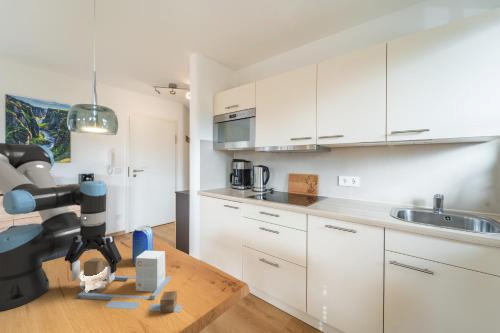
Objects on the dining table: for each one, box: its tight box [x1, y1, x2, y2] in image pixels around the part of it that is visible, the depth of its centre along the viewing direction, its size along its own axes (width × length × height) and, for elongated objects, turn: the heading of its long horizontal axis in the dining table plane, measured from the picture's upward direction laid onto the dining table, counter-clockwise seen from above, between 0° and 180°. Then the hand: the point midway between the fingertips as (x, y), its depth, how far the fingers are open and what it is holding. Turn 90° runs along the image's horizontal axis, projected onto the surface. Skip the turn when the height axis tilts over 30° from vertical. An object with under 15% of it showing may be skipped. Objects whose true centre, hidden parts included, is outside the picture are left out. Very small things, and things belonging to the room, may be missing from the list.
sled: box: [76, 257, 172, 301], centre depth 76 cm, size 29×12×10 cm, turn 87°
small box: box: [135, 250, 166, 293], centre depth 76 cm, size 8×6×13 cm
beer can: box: [131, 225, 154, 266], centre depth 96 cm, size 8×8×16 cm
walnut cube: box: [159, 290, 178, 314], centre depth 65 cm, size 4×4×4 cm
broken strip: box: [104, 300, 184, 313], centre depth 66 cm, size 24×3×1 cm, turn 87°
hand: (93, 280), depth 77 cm, fingers open, 13 cm apart
